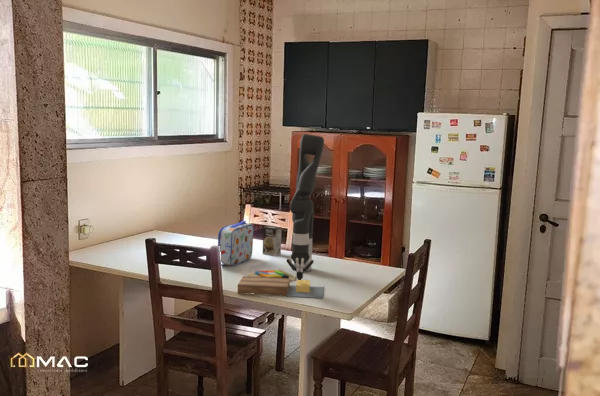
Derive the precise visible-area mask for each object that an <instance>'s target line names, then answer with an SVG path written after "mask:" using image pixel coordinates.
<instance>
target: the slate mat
mask: <svg viewBox="0 0 600 396" xmlns="http://www.w3.org/2000/svg"><path fill="white" fill-rule="evenodd" d="M324 288H325V286H315V285H314V286H313V285H310V291H309V292H296V285H293V284H292V285H291V284H290V286H289V289H288V293H287V296H285V297H287V298H302V299H303V298H305V299H307V298H308V299H324Z"/></svg>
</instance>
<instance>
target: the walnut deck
mask: <svg viewBox="0 0 600 396" xmlns="http://www.w3.org/2000/svg"><path fill="white" fill-rule="evenodd" d="M290 282H291V281H290V278H272V277H251V276H247V275H243V276H242V277H241V279H240V280H239V282H238V283H237V294H240V293H254V294H253V295H258V294H269V295H268V296H278V295H282V296H281V297H283V296H284V297H286V296H287V293H288V289H289V286H290V285H291V283H290ZM240 295H241V294H240Z"/></svg>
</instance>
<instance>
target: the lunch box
mask: <svg viewBox="0 0 600 396" xmlns="http://www.w3.org/2000/svg"><path fill="white" fill-rule="evenodd" d="M254 230H255V229H254V225H253V224H251V223H248V222H247V221H246V220H241V221H239V222H236V223H233V224H228V225H225V226H223V227H221V228H220V229H219V231H218V236H217V247H218V246H220V252H221V262H222V265H227V266H236V265H239V264H241V263H244V262H245V261H247V260H250V259H251V258H252V256H253V247H254V245H253V244H254Z"/></svg>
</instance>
